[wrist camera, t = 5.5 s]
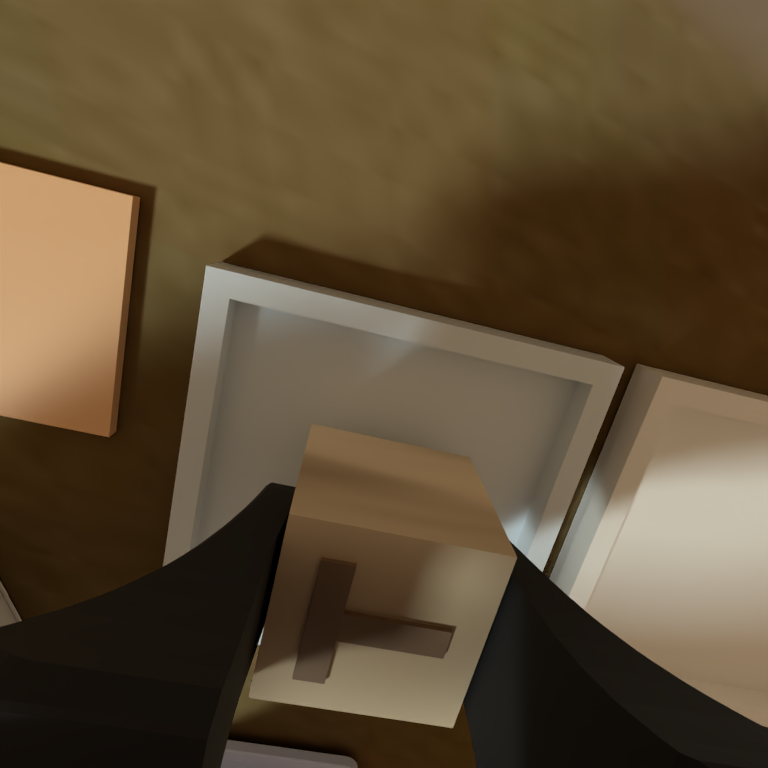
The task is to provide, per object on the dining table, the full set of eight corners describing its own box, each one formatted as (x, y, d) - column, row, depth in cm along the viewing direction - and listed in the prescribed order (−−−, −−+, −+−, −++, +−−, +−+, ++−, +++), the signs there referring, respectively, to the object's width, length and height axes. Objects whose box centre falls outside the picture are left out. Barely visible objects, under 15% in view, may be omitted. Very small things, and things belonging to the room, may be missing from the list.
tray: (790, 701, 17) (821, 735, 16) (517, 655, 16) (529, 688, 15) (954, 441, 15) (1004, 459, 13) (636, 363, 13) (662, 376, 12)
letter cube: (427, 588, 14) (453, 733, 10) (280, 562, 13) (247, 702, 9) (469, 457, 13) (519, 561, 9) (311, 423, 12) (288, 517, 8)
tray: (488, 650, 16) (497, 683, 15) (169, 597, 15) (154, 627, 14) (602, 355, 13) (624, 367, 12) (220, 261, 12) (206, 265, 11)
